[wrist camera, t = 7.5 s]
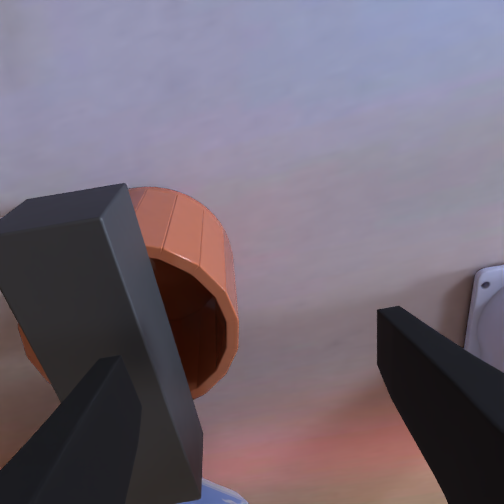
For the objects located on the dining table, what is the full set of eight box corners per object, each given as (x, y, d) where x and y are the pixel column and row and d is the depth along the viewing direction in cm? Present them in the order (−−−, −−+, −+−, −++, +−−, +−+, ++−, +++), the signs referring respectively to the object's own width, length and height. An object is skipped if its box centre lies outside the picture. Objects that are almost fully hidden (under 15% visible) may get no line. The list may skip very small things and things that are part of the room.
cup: (243, 308, 22) (253, 395, 17) (104, 332, 22) (65, 427, 17) (217, 173, 19) (219, 224, 13) (50, 201, 19) (-25, 265, 13)
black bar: (203, 432, 17) (201, 500, 15) (134, 445, 17) (120, 514, 15) (126, 182, 12) (101, 216, 9) (25, 199, 12) (-29, 238, 9)
